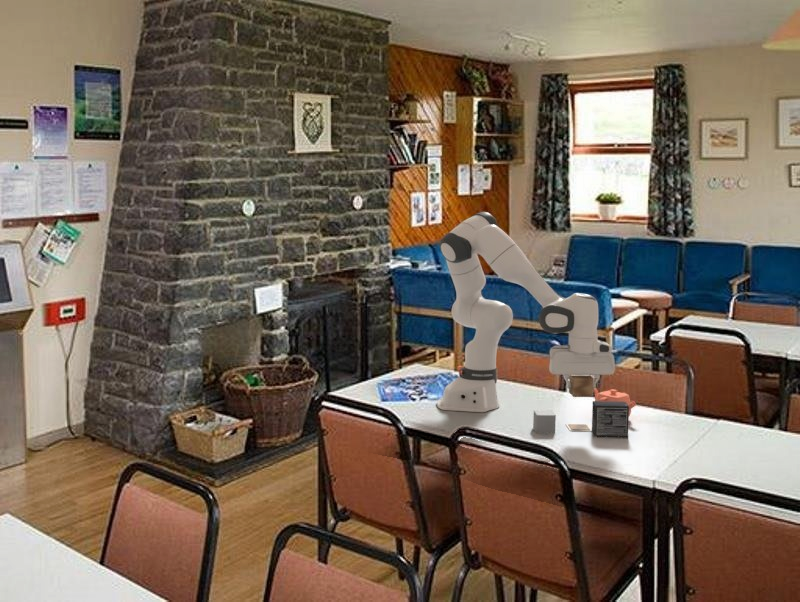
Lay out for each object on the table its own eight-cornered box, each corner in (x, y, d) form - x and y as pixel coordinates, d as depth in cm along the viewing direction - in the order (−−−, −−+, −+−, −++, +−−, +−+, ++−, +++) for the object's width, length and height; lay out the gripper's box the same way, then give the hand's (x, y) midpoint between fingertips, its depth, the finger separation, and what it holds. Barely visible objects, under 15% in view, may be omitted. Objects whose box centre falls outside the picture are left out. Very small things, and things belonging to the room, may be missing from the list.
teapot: (632, 415, 280) (633, 386, 279) (635, 424, 268) (636, 395, 267) (590, 413, 283) (591, 384, 281) (591, 422, 271) (592, 392, 270)
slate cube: (536, 433, 258) (536, 415, 257) (533, 427, 264) (533, 410, 263) (555, 433, 258) (555, 415, 257) (551, 428, 264) (552, 410, 263)
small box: (624, 432, 260) (625, 400, 258) (628, 438, 253) (630, 406, 252) (590, 431, 260) (592, 399, 259) (594, 437, 254) (596, 405, 252)
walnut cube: (573, 397, 251) (574, 378, 250) (568, 392, 257) (569, 373, 256) (592, 397, 251) (593, 378, 251) (587, 392, 257) (588, 373, 257)
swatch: (570, 431, 260) (570, 429, 260) (565, 424, 267) (565, 423, 267) (592, 431, 260) (592, 430, 260) (587, 425, 267) (587, 423, 267)
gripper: (552, 346, 248) (550, 390, 250) (617, 347, 249) (615, 390, 251) (547, 343, 255) (546, 385, 257) (611, 343, 256) (609, 385, 257)
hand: (581, 388), depth 254 cm, fingers closed on walnut cube, 6 cm apart
